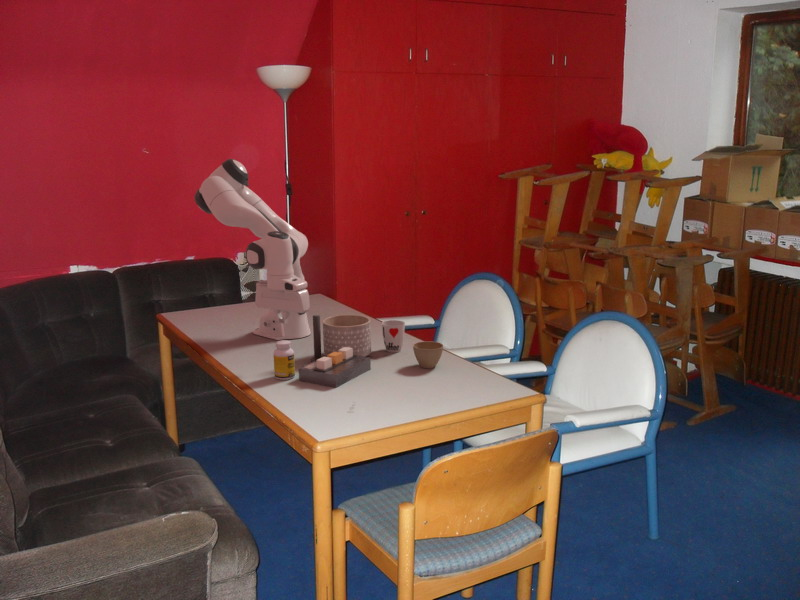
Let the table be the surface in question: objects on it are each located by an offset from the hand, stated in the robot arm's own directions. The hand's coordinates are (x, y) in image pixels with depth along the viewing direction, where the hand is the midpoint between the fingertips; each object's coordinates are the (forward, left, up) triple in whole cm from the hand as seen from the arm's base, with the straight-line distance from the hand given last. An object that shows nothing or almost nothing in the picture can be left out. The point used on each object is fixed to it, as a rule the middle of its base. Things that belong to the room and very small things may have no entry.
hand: (283, 323), depth 248 cm
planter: (+12, +19, -15) cm, 27 cm away
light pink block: (+20, -6, -11) cm, 24 cm away
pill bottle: (+7, -9, -15) cm, 19 cm away
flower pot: (+42, +22, -15) cm, 50 cm away
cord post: (+7, +9, -15) cm, 19 cm away
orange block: (+20, 0, -11) cm, 23 cm away
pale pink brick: (+20, +6, -11) cm, 24 cm away
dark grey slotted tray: (+20, 0, -15) cm, 25 cm away
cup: (+23, +32, -15) cm, 42 cm away
